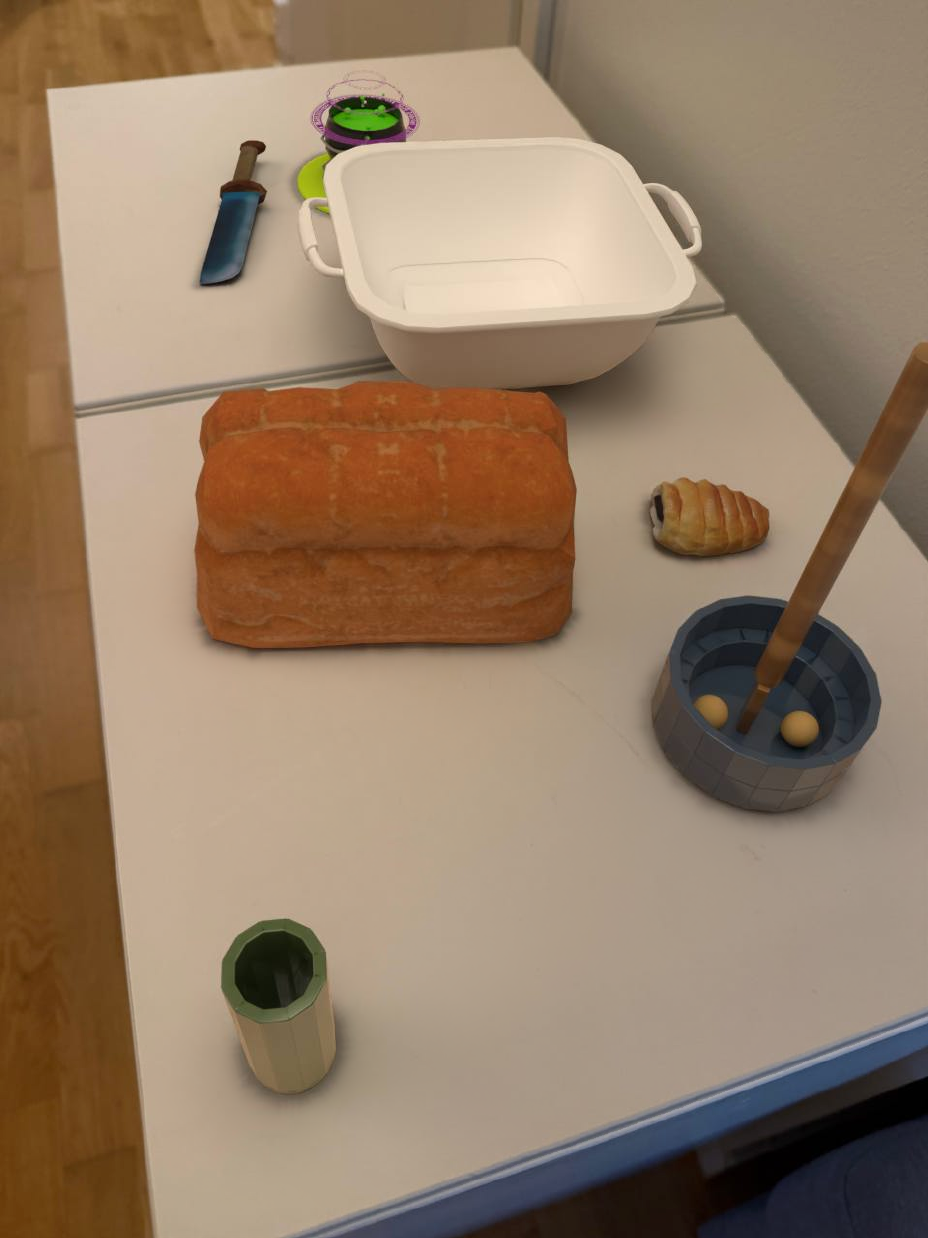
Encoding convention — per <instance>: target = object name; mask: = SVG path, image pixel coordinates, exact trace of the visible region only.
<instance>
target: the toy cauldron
mask: <svg viewBox="0 0 928 1238" xmlns="http://www.w3.org/2000/svg"><path fill="white" fill-rule="evenodd" d="M364 72H367V70H364V69H363V70H362V69H361V70H354V71H351V72H349V74H348V73H346V74H345V75H344V77H343V78H344V80H343V81H341V82H337V83H335V84H333V85H332V87H330V88H328V90H327V91H326V99H325V100H324V101H321V102H319V103H318V104H317V105H316V106H314V107H313V110H312V111H311V114H310V123H311V125H312V126H313V128H314V129H315V130H316V132H318V133H319V134H321V137H320V141H321V142H322V143H323V144H324V145H325V150H326V153H323V154H321V155H318V156H317V157H315V158H313V159H312V160H310V161H308V162H307V163H306V164H305V165H303V166H302V168H301V170H300V172H298V177H297V181H296V183H297V189H298V192H299V193H300V195H301V197H302V199H304V201H305V200H306V199H309V198H315V197H320V198H326V193H325V189H324V184H323V177H324V172H325V167H326V165H327V164H328V163H329V162H330V161H331V160H332V159H333V158H334V157H335V156H336V155H337V154H339V153H342V152H344V151H347V150H349V149H352V148H354V147H357V146H362V145H370V144H377V143H394V142H407V139H408V138H409V137H411V136H413V135H414V134H415V133H416V132H417V131H418V129H419V127H420V125H421V124H420V123H421V119H420V116H419V114H418V113H417V112H416V111H415V110H414V109H413V108H412V107H411V106H409V105H408V104H405V103H404V100H403V99H404V94H403V93H401V90H399V89H398V88H397V89H396V86H395V85H392V84H390V83H388V82H387V81H386V80H387V79H386V77H385V76H384V75H382V74H381V80H375V79H369V78H366V79H365V78H358V79H357V78H356V79H349V80H348V78H349V77H350V76H351V74H352V75H353V74H355V73H356V74H358V73H364ZM368 73H369V74H370V73H371V74H374V75H377V76H378V77H380V74H378V72H376V71H375V72H374V71H372V70H371V71H368ZM357 81H358V82H359V81H365V82H377V83H379V85H375V86H374V90H375V89H377V87H378V88H381V87H383V85H388V86H390V87H391V88H392V89H394V90H395V91H397V93H398V94H399V95H401V96H400V99H399V100H397V99H394V98H390V97H387V96H385V95H386V94H385V93H381V95H376V94H375V95H374V94H352V93H351V94H346V95H344V94H343V95H340V96H334V97H332V98H331V96H330V94H331V91H332V90H333V89H334V88H335V87H336V86H338V85H341V84H346V85H347V86H349V87H352V88H354V89H359V90H362V89H364V90H370V89H373V86H371V87H362V86H361V87H358V86H356V85H354V84H352V83H350V82H357ZM384 81H385V82H384ZM327 109H328V115H327V119H326V122H325V124H324V123H323V119H322V116H323V113H324V112H325V111H326V110H327ZM402 112H403V113H404V114H405V115H406V116H407V118H408V122H407V123H408V125H407V126H406V127H405V123H404V117H403V113H402ZM319 123H320V124H319ZM315 209H317V210H319V211H321V212H324V213H326V214H328V215H330V211H329V207H315Z"/></svg>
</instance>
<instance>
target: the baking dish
mask: <svg viewBox="0 0 928 1238" xmlns="http://www.w3.org/2000/svg"><path fill="white" fill-rule="evenodd" d="M323 184H324V189H325V193H326V198H320V197H315V198H309V199H306V200H305V199H304V201H303V202H302V203H301V207H300V208H299V210H298V212H297V231H298V238H299V242H300V247H301V249H302V252H303V254H304V257H305V259H306V261H307V262H309V264H310V265H311V267H312V268H313V270H314V271H315V272H317V274H319V275H321V276H323V277H326V278H334V279H335V278H337V279H338V278H340V279H344V283H345V287H346V291H347V294H348V295H349V298H350V299H351V300H352V303H353V304H354V306H355V308H356V309H357V310H359V311H360V313H363V314H364V315H366V316H367V317H369V318H370V322H371V326H372V328H373V331H374V334H375V336H376V339H377V342H378V343H379V345H380V347H381V349H382V350H383V352H384V354H385V355H386V357H387V358H388V360H389V361H390V362H391V364H392V365H393V367H394V368H395V369H396V370H397V371H398V372H399V373H401V374H402V375H403V376H404V377H405V378H407V379H409V380H410V382H411V381H412V383H416V384H419V385H423V386H427V387H431V388H434V389H438V388H462V387H464V388H480V389H495V390H513V389H526V388H539V387H540V388H541V387H551V386H565V385H573V384H577V383H580V382H584V381H586V380H592V379H596V378H598V377H600V376H601V375H603V374H605V373H607V372H608V371H610V370H612V369H614V368H615V367H617V366H619V365H620V364H621V363H623V362H624V361H626V360H627V359H628V358H629V357H630V356H631V355H633V353H635V352H636V351H638V350H639V349H640V348H641V347H642V346H643V344H644V343H645V341H646V340H647V339H648V338H649V336H650V335H651V334H652V333H653V330H654V329H655V328H656V326H657V324H658V322H659V321H660V319H661V318H662V317H664V316H669V315H672V314H674V313H675V312H676V311H678V310H680V309H681V308H683V307H685V306H686V305H688V304H689V303H690V302H691V299H692V298H693V295H694V293H695V291H696V289H697V286H698V284H697V280H696V275H695V273H694V267H693V265H692V264H691V261H690V260H689V259H688V258H692V257H695V256H698V254H699V253H700V252H701V251H702V246H703V240H702V232H703V230H702V227H701V225H700V222H699V220H698V218H697V215H695V212H694V211H693V209H692V208H691V206H690V205H689V203H688V201H686V199H685V198H684V197H683V196H682V195H681V194H680V193H679V191H676V190H673V189H671V188H670V187H668V186H667V185H664V184H662V183H657V182H648V183H643V181H642V180H641V179H640V177H639V174H638V173H637V172H636V169H635V168H634V167H633V165H631V163H630V162H629V161H628V160H627V159H626V158H625V157H624V156H623V155H622V154H620V153H618V152H617V151H615V150H612V149H611V148H609V147H607V146H605V145H603V144H601V143H596V142H593V141H589V140H586V139H585V140H584V139H580V138H573V137H559V136H551V137H549V136H546V137H521V138H520V137H518V138H516V137H515V138H489V139H487V138H486V139H460V140H458V139H457V140H429V141H406V142H394V143H377V144H370V145H362V146H357V147H354V148H352V149H349V150H347V151H344V152H342V153H339V154H337V155H336V156H335V157H334V158H333V159H332V160H331V161H330V162H329V163H328V164H327V165H326V167H325V172H324V177H323ZM649 193H653V194H655V195H658V196H660V197H661V198H662V199H663V200H664V202H665V203H667V209H668V211H669V212H670V213H671V215H672V216H673V217H674V219H675V221H676V222H677V223H678V225H679V227H680V228H681V230H682V232H683V233H684V235H685V238H686V240H687V242H688V243H691V244H692V246H690V247H688V248H684V249H682V246H681V245H680V243H679V242H678V240H677V239H676V236H674V233H673V232H672V230H671V228H670V226H669V225H668V223H667V221H666V220H665V219H664V217H663V215H662V213H661V212H660V210H659V209H658V207H657V205H656V203H655V202H654V200H653V198H652V197H651V195H650V194H649ZM316 207H329V211H330V214H329V215H330V220H331V224H332V229H333V234H334V238H335V242H336V246H337V250H338V257H339V260H340V265H341V268H338V267H332V266H329V265H327V264H325V263H324V262H323V260H322V259H321V257H320V255H319V246H318V241H317V238H316V235H315V232H314V227H313V220H312V212H311V210H313V209H316Z"/></svg>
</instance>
